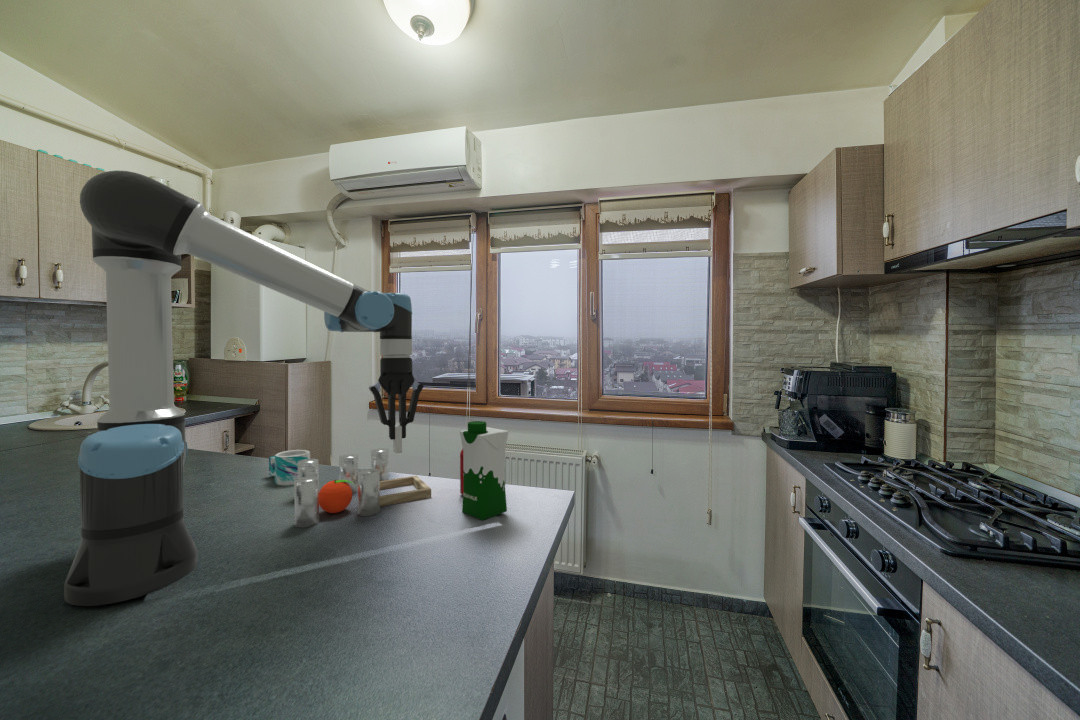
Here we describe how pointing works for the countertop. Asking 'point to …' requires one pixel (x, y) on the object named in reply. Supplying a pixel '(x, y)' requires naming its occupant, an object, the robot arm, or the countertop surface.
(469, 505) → the milk carton
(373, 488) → the spacer field
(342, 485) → the clementine
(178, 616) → the countertop surface
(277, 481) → the mug
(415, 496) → the beech corral
